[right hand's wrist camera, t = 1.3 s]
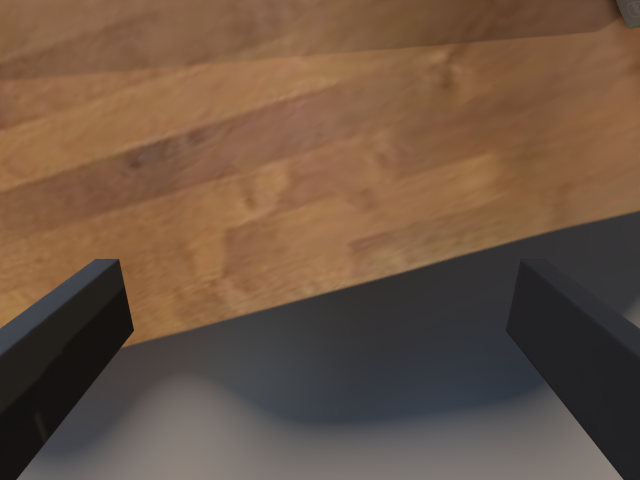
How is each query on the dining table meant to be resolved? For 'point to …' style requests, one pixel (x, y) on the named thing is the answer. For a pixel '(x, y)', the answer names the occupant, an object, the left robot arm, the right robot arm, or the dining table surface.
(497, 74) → the dining table surface
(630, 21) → the hard drive box
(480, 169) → the dining table surface
